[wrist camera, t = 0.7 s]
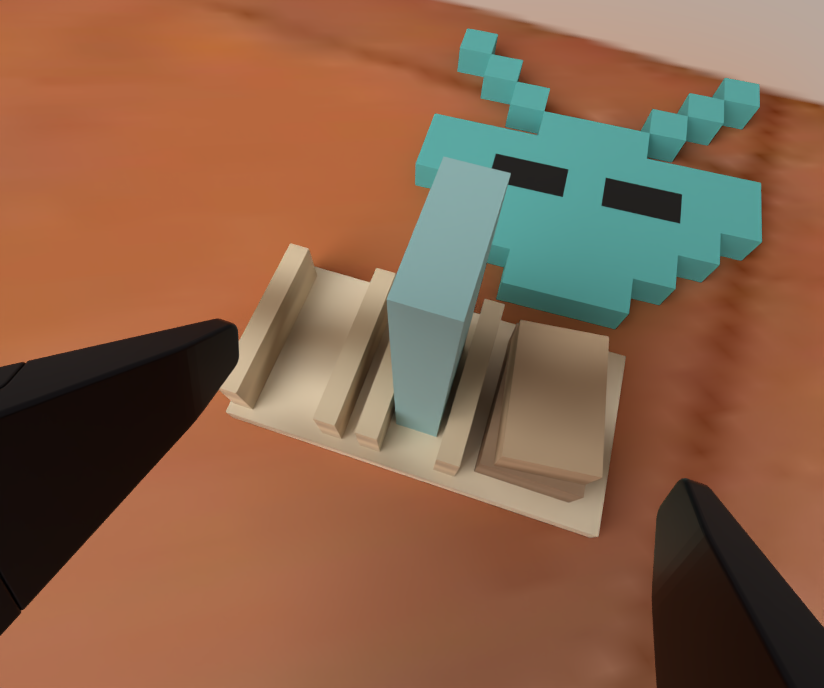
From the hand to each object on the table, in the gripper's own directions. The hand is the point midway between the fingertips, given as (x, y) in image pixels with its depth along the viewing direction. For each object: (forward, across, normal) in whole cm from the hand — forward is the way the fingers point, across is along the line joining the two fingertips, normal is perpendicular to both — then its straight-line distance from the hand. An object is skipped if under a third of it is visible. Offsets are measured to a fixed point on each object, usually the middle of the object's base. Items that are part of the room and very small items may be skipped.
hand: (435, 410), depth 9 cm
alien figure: (+26, -2, +1) cm, 27 cm away
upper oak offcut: (+10, -3, +7) cm, 13 cm away
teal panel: (+11, +2, +8) cm, 14 cm away
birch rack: (+12, +2, +9) cm, 15 cm away
